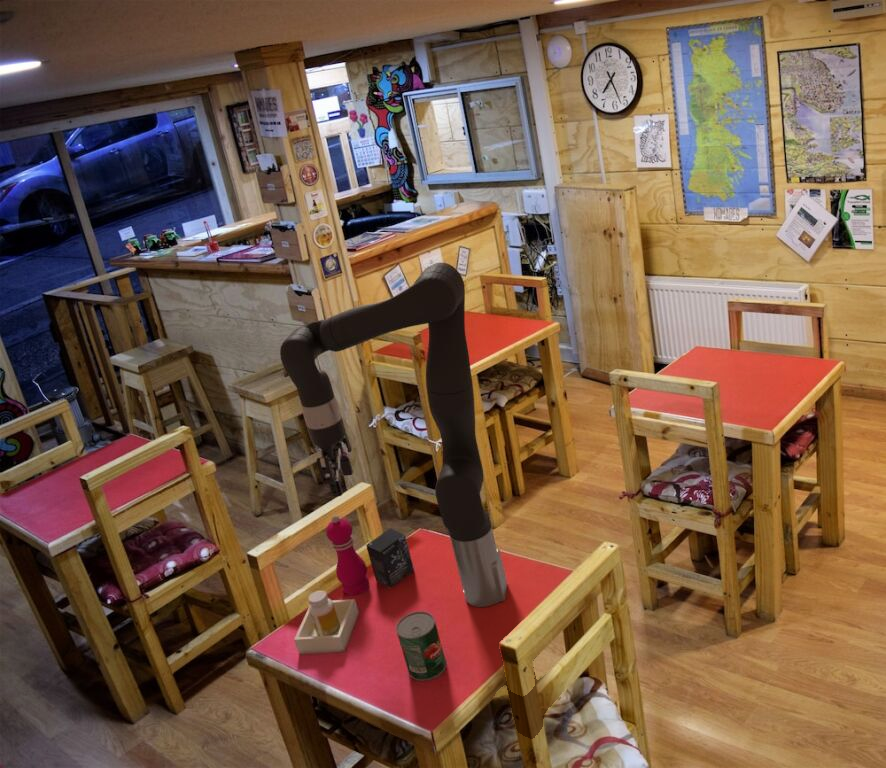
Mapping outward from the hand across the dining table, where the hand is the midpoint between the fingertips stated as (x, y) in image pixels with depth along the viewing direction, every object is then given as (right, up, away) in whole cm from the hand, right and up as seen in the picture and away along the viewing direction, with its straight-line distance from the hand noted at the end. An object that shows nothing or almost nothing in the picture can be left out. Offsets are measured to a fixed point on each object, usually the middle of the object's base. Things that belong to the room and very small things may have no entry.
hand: (343, 484), depth 192 cm
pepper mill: (+1, -26, +17) cm, 31 cm away
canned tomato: (+19, -35, -13) cm, 42 cm away
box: (+10, -24, +18) cm, 31 cm away
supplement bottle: (-3, -33, +3) cm, 33 cm away
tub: (-3, -33, +3) cm, 33 cm away
